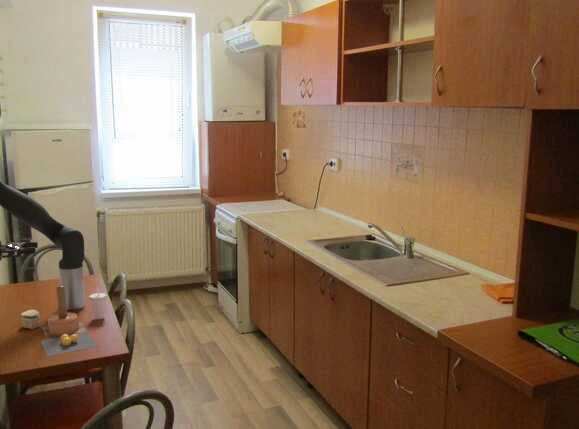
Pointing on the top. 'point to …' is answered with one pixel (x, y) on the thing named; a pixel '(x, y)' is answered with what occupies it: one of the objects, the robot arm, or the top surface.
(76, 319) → the peg on base plate
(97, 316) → the smoothie
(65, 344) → the amber marble
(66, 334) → the amber marble
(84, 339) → the slate mat
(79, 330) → the clear flat panel
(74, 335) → the amber marble
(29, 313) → the beige piece
